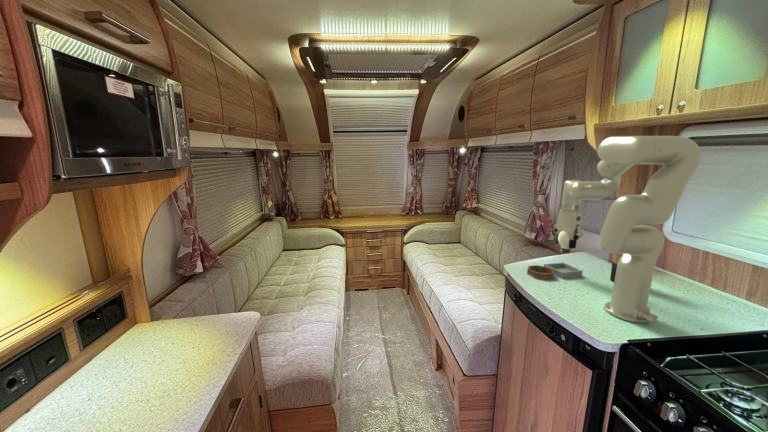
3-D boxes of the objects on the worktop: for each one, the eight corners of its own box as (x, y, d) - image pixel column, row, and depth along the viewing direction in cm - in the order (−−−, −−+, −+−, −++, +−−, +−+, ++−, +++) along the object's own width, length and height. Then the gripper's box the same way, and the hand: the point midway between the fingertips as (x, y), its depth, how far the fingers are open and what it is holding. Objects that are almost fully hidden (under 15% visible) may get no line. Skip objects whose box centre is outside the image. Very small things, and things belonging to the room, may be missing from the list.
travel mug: (636, 285, 125) (644, 240, 121) (617, 285, 126) (625, 240, 121) (622, 278, 133) (629, 235, 129) (605, 278, 133) (612, 235, 129)
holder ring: (558, 278, 133) (559, 273, 132) (538, 280, 130) (539, 274, 130) (541, 269, 143) (542, 264, 142) (522, 271, 140) (523, 266, 140)
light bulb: (576, 253, 136) (579, 230, 133) (567, 255, 133) (570, 231, 130) (562, 248, 142) (565, 226, 139) (552, 250, 139) (555, 228, 136)
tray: (581, 276, 135) (582, 270, 134) (561, 278, 133) (562, 272, 132) (562, 267, 145) (563, 262, 145) (543, 269, 143) (544, 264, 143)
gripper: (594, 211, 125) (588, 251, 129) (562, 204, 142) (557, 239, 146) (580, 211, 124) (574, 252, 127) (549, 204, 140) (544, 240, 144)
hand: (565, 245), depth 136 cm, fingers closed on light bulb, 6 cm apart
